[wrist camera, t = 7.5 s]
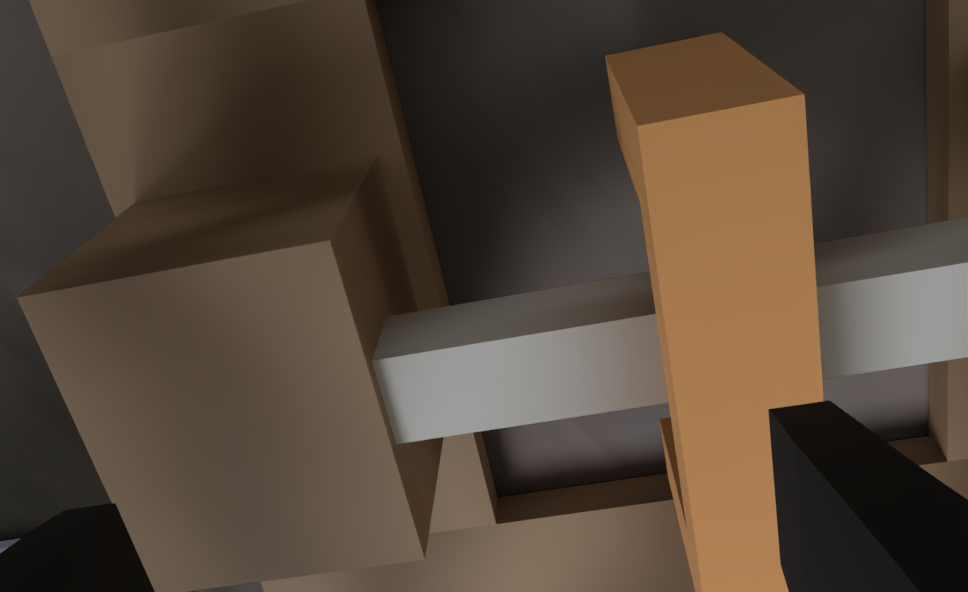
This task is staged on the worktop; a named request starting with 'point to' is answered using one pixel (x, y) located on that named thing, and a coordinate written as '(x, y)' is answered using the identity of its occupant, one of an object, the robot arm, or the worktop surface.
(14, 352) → the worktop surface
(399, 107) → the hook stand
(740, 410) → the tan wooden angled block
